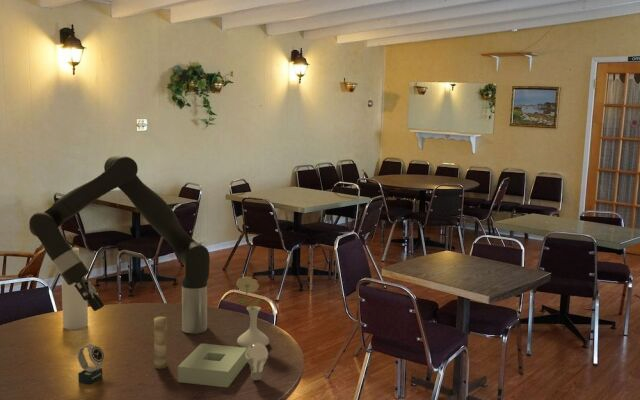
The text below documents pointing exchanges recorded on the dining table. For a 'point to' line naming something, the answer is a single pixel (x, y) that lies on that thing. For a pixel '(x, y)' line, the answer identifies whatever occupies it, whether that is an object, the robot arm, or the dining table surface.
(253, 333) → the flower in vase
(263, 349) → the light bulb
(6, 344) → the dining table surface
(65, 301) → the alcohol
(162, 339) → the peg
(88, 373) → the watch
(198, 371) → the hole block
